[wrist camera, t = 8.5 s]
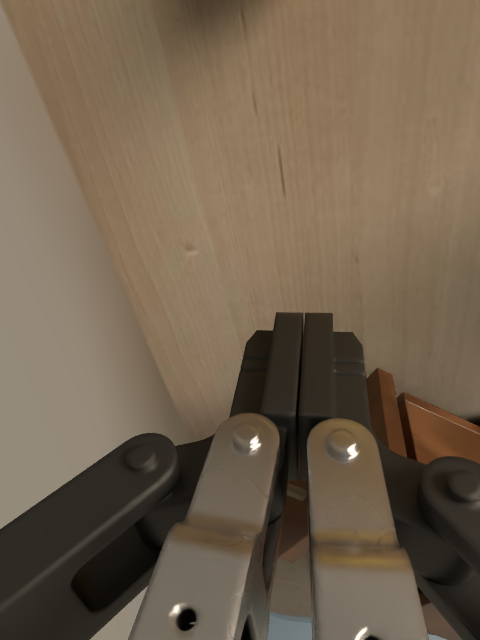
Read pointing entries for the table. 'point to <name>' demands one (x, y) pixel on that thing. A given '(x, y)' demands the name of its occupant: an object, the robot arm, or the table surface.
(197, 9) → the table surface
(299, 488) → the drawer
